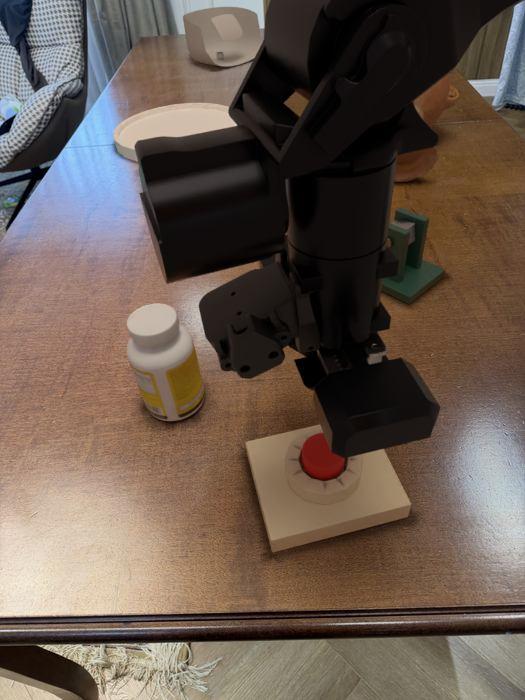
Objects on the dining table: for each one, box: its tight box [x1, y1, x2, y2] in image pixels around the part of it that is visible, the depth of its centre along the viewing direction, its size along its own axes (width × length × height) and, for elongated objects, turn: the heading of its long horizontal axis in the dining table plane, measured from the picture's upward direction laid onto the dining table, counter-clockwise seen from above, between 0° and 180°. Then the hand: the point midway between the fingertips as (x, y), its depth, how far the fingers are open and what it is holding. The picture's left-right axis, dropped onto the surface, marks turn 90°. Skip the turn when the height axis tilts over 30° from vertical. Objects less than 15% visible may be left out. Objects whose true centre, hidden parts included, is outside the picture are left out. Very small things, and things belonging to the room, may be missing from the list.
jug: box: [394, 72, 460, 183], centre depth 90 cm, size 20×19×30 cm
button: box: [302, 433, 345, 480], centre depth 43 cm, size 4×4×2 cm
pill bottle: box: [126, 302, 206, 422], centre depth 50 cm, size 6×6×12 cm
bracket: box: [381, 207, 447, 305], centre depth 65 cm, size 10×8×8 cm
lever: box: [390, 219, 415, 245], centre depth 67 cm, size 13×3×3 cm, turn 43°
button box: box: [245, 424, 412, 553], centre depth 44 cm, size 10×12×4 cm
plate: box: [112, 102, 237, 163], centre depth 109 cm, size 28×28×2 cm
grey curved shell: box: [182, 6, 264, 67], centre depth 149 cm, size 20×19×12 cm
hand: (330, 407), depth 40 cm, fingers closed
